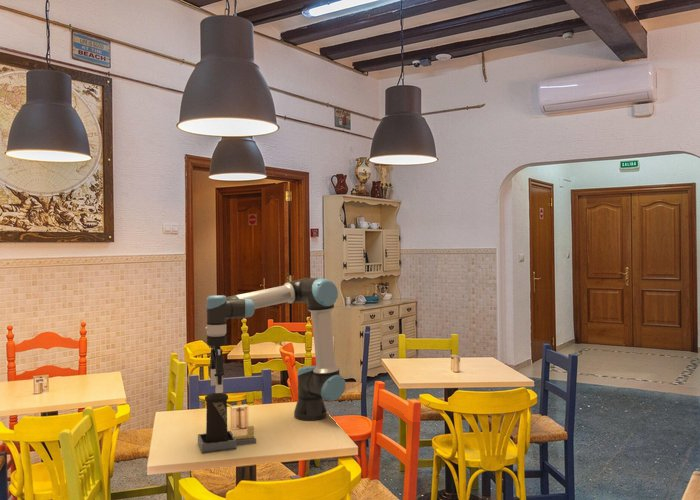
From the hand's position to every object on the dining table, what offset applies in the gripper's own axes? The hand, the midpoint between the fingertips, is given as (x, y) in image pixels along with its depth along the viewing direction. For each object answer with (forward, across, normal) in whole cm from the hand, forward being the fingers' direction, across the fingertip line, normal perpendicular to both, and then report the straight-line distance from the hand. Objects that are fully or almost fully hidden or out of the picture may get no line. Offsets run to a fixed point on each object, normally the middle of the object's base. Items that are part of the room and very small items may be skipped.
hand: (216, 389), depth 242 cm
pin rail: (+23, 0, +11) cm, 25 cm away
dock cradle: (+22, 0, 0) cm, 23 cm away
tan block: (+21, 0, +11) cm, 24 cm away
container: (+22, 0, 0) cm, 22 cm away
